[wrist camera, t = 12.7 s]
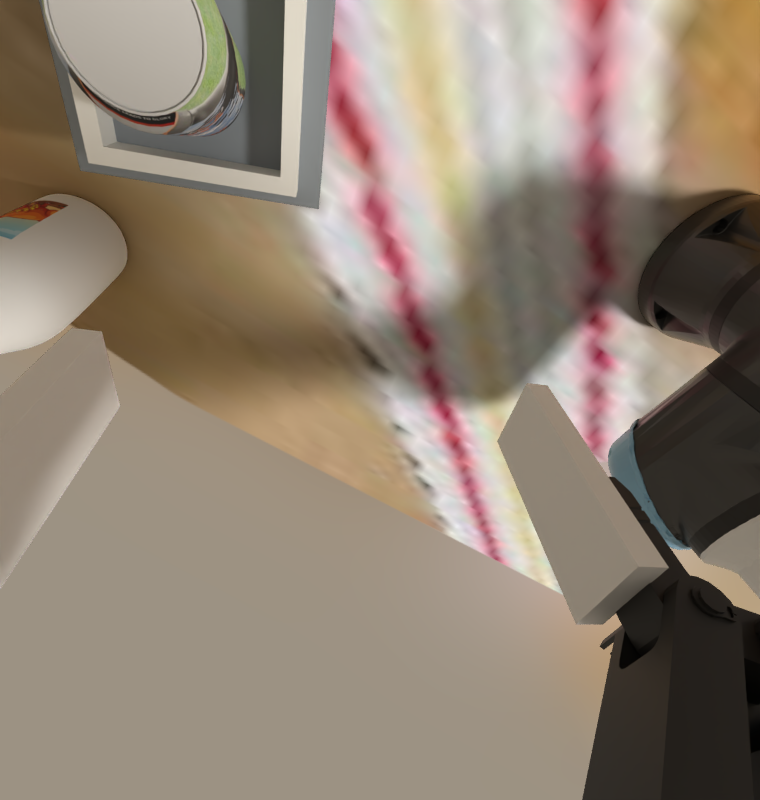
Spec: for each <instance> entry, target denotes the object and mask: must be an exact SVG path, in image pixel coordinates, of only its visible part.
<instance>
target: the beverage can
mask: <svg viewBox="0 0 760 800" xmlns="http://www.w3.org/2000/svg"><path fill="white" fill-rule="evenodd" d="M42 5H43V12H44V18H45V22H46V25H47V28H48V32H49V35H50V38H51V41H52V43H53V45H54V47H55V50H56V52H57V54H58V56H59V58H60V60H61V62H62V63H63V65H64V67H65V68H66V70H67V72H68V73H69V75H70V76H71V78H72V79H73V80H74V81H75V83H76V84H77V85H78V87H79V88H80V89H81V90H82V92H83V93H84V94H85V95H86V96H87V97H88V98H89V99H90V100H91V101H92V102H93V103H94V104H95V105H97V106H98V107H99V108H100V109H102V110H103V111H104V112H105V113H107V114H108V115H109V116H111V117H112V118H114V119H116V120H118V121H119V122H121V123H123V124H124V125H127V126H129V127H132V128H134V129H136V130H139V131H142V132H147V133H151V134H159V135H178V136H198V137H205V136H212V135H215V134H217V133H220V132H222V131H223V130H225V129H226V128H228V127H229V126H230V125H231V124H232V123H233V122H234V121H235V119H236V118H237V116H238V114H239V113H240V110H241V108H242V105H243V102H244V97H245V85H246V81H245V72H244V67H243V63H242V59H241V56H240V53H239V51H238V48H237V46H236V44H235V42H234V40H233V38H232V36H231V33H230V31H229V29H228V27H227V25H226V23H225V21H224V19H223V17H222V15H221V13H220V11H219V9H218V7H217V4H216V2H215V0H42Z"/></svg>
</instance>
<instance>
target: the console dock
mask: <svg viewBox="0 0 760 800" xmlns="http://www.w3.org/2000/svg"><path fill="white" fill-rule="evenodd" d="M215 2H216V4H217V7H218V9H219V11H220V13H221V15H222V17H223V19H224V21H225V23H226V25H227V27H228V29H229V31H230V33H231V36H232V38H233V40H234V42H235V44H236V46H237V48H238V51H239V53H240V56H241V59H242V63H243V67H244V72H245V81H246V85H245V97H244V102H243V105H242V108H241V110H240V113H239V114H238V116H237V118H236V119H235V121H234V122H233V123H232V124H231V125H230V126H229V127H228V128H226V129H225V130H223V131H222V132H220V133H217V134H215V135H212V136H205V137H198V136H178V135H159V134H151V133H147V132H142V131H139V130H136V129H134V128H132V127H129V126H127V125H124V124H123V123H121V122H119V121H118V120H116V119H114V118H112V117H111V116H109V115H108V114H107V113H105V112H104V111H103V110H102V109H100V108H99V107H98V106H97V105H95V104H94V103H93V102H92V101H91V100H90V99H89V98H88V97H87V96H86V95H85V94H84V93H83V92H82V90H81V89H80V88H79V87H78V85H77V84H76V83H75V81H74V80H73V79H72V78H71V76H70V75H69V73H68V72H67V70H66V68H65V67H64V65H63V63H62V62H61V60H60V58H59V56H58V54H57V52H56V50H55V47H54V45H53V43H52V41H51V38H50V35H49V32H48V28H47V25H46V22H45V18H44V12H43V5H42V0H39V3H40V7H41V11H42V15H43V19H44V23H45V27H46V31H47V36H48V40H49V44H50V48H51V52H52V56H53V60H54V64H55V68H56V73H57V77H58V81H59V85H60V89H61V93H62V97H63V101H64V105H65V110H66V114H67V118H68V122H69V126H70V130H71V134H72V138H73V143H74V147H75V151H76V155H77V159H78V163H79V167H80V171H86V172H92V173H99V174H105V175H111V176H117V177H123V178H129V179H136V180H142V181H148V182H154V183H160V184H167V185H173V186H179V187H185V188H191V189H197V190H204V191H210V192H216V193H222V194H228V195H235V196H241V197H247V198H253V199H259V200H265V201H272V202H278V203H284V204H290V205H296V206H303V207H309V208H315V209H319V198H320V186H321V173H322V161H323V148H324V136H325V124H326V111H327V99H328V86H329V74H330V61H331V49H332V37H333V24H334V12H335V0H215Z"/></svg>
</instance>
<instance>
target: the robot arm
mask: <svg viewBox="0 0 760 800" xmlns="http://www.w3.org/2000/svg"><path fill="white" fill-rule="evenodd" d="M638 302H639V308H640V311H641V313H642V315H643V317H644V318H645V319H646V320H647V321H648V322H649V323H650V324H651V325H652V326H654V327H655V328H656V329H658V330H659V331H660V332H662V333H663V334H665V335H667V336H670V337H672V338H676V339H680V340H683V341H687V342H690V343H694V344H697V345H701V346H705V347H708V348H712V349H714V350H716V351H717V352H718V353H720V354H721V355H720V356H719V357H718V358H717V359H716V360H714V361H713V362H712V363H711V364H709V365H708V366H707V367H705V368H704V369H703V370H702V371H700V372H699V373H698V374H697V375H695V376H694V377H693V378H692V379H691V380H689V381H688V382H687V383H686V384H684V385H683V386H682V387H680V388H679V389H678V390H677V391H675V392H674V393H673V394H671V395H670V396H669V397H668V398H666V399H665V400H664V401H663V402H661V403H660V404H659V405H657V406H656V407H655V408H654V409H652V410H651V411H650V412H649V413H647V414H646V415H645V416H643V417H642V418H640V419H637V420H636V421H635V422H634V423H633V424H632V425H631V427H630V429H629V430H628V431H626V432H625V433H624V434H623V435H622V436H621V437H620V438H618V439H617V440H616V441H615V442H614V443H613V444H612V446H611V448H610V450H609V455H608V466H609V470H610V473H611V476H612V477H608V476H607V474H606V473H605V471H604V470H603V468H602V467H601V465H600V464H599V462H598V461H597V459H596V458H595V456H594V455H593V453H592V452H591V450H590V449H589V447H588V446H587V444H586V443H585V441H584V440H583V438H582V437H581V435H580V434H579V432H578V431H577V429H576V428H575V426H574V425H573V423H572V422H571V420H570V419H569V417H568V416H567V414H566V413H565V411H564V410H563V408H562V407H561V405H560V404H559V402H558V401H557V399H556V398H555V396H554V395H553V393H552V392H551V390H550V389H549V387H548V386H546V385H538V384H530V383H527V384H526V386H525V388H524V390H523V392H522V394H521V396H520V398H519V400H518V402H517V404H516V406H515V408H514V410H513V411H512V413H511V415H510V417H509V419H508V421H507V423H506V425H505V427H504V429H503V431H502V433H501V435H500V437H499V439H498V441H497V442H498V444H499V446H500V449H501V451H502V453H503V455H504V458H505V460H506V462H507V465H508V467H509V469H510V472H511V474H512V476H513V479H514V481H515V483H516V486H517V488H518V490H519V493H520V495H521V497H522V500H523V502H524V504H525V507H526V509H527V511H528V514H529V516H530V518H531V521H532V523H533V525H534V527H535V530H536V532H537V534H538V537H539V539H540V541H541V544H542V546H543V548H544V551H545V553H546V555H547V558H548V560H549V562H550V565H551V567H552V569H553V572H554V574H555V576H556V579H557V581H558V583H559V586H560V588H561V590H562V592H563V595H564V597H565V599H566V601H567V604H568V606H569V609H570V611H571V613H572V616H573V618H574V620H575V623H576V624H604V623H605V622H606V621H607V620H608V619H610V618H611V617H612V616H613V615H614V614H615V613H616V614H617V616H618V618H619V620H620V622H621V624H622V625H621V626H620V627H619V628H618V629H617V630H615V631H614V632H613V633H612V634H610V635H609V636H608V637H607V638H605V639H604V640H603V642H602V643H601V645H600V647H601V648H602V649H605V648H607V647H608V646H609V645H610V644H612V643H613V642H614V644H613V649H612V652H611V653H610V654H611V659H610V664H609V669H608V674H607V679H606V684H605V689H604V694H603V699H602V704H601V709H600V714H599V719H598V724H597V729H596V734H595V739H594V744H593V749H592V754H591V759H590V764H589V769H588V774H587V779H586V784H585V789H584V794H583V799H582V800H760V615H759V614H756V613H753V612H750V611H747V610H744V609H742V608H739V607H736V606H733V604H732V602H731V601H730V600H729V599H728V598H727V597H726V596H725V595H724V594H723V593H722V592H721V591H720V590H719V589H717V588H716V587H715V586H713V585H712V584H711V583H709V582H707V581H705V580H703V579H701V578H699V577H695V576H690V575H689V574H688V573H687V572H686V570H685V569H684V567H683V566H682V564H681V563H680V562H679V560H678V559H677V557H676V556H675V554H674V553H673V551H672V550H671V549H670V547H671V548H673V549H677V550H683V549H686V550H689V549H692V550H693V551H694V552H695V553H696V554H697V555H698V557H699V558H700V559H701V560H702V561H703V562H704V563H706V564H710V565H714V566H717V567H721V568H725V569H728V570H731V571H733V572H735V573H737V574H738V575H739V576H740V577H741V578H742V579H743V580H744V581H745V583H746V584H747V585H748V586H749V587H750V588H751V589H752V590H753V592H754V593H755V594H756V595H757V596H758V597H759V599H760V195H751V194H749V195H739V196H734V197H730V198H726V199H723V200H721V201H718V202H716V203H714V204H711V205H709V206H707V207H706V208H704V209H702V210H700V211H699V212H697V213H696V214H694V215H693V216H691V217H690V218H688V219H687V220H686V221H685V222H683V223H682V224H681V225H680V226H679V227H677V228H676V229H675V230H674V231H673V232H672V233H671V234H670V235H669V236H668V237H667V238H666V239H665V241H664V242H663V243H662V244H661V245H660V247H659V248H658V249H657V251H656V252H655V253H654V255H653V256H652V258H651V260H650V261H649V263H648V265H647V267H646V269H645V271H644V274H643V276H642V279H641V282H640V286H639V293H638ZM119 408H120V404H119V399H118V395H117V392H116V387H115V383H114V379H113V375H112V371H111V367H110V363H109V359H108V354H107V350H106V346H105V342H104V338H103V334H102V331H94V330H86V329H77V328H71V329H70V330H69V331H68V332H67V333H66V334H65V335H64V336H63V337H61V339H59V340H58V341H57V342H56V343H55V344H54V345H53V346H52V347H51V348H50V349H49V350H48V351H47V352H46V353H45V354H44V355H42V356H41V357H40V358H39V359H38V360H37V361H36V362H35V363H34V364H33V365H32V366H31V367H30V368H29V369H28V370H27V371H26V372H25V373H24V374H22V375H21V376H20V377H19V378H18V379H17V380H16V381H15V382H14V383H13V384H12V385H11V386H10V387H9V388H8V389H7V390H6V391H5V392H4V393H3V394H2V395H0V589H1V587H2V586H3V584H4V583H5V581H6V580H7V578H8V576H9V575H10V574H11V572H12V571H13V569H14V568H15V566H16V564H17V563H18V561H19V560H20V558H21V557H22V555H23V554H24V552H25V550H26V549H27V548H28V546H29V545H30V543H31V541H32V540H33V538H34V537H35V536H36V534H37V532H38V531H39V529H40V528H41V526H42V525H43V523H44V522H45V520H46V519H47V517H48V516H49V514H50V513H51V511H52V509H53V508H54V507H55V505H56V504H57V502H58V501H59V499H60V497H61V496H62V494H63V493H64V491H65V490H66V488H67V487H68V485H69V483H70V482H71V481H72V479H73V478H74V476H75V475H76V473H77V472H78V470H79V469H80V467H81V466H82V464H83V462H84V461H85V459H86V458H87V456H88V455H89V453H90V452H91V450H92V449H93V447H94V446H95V444H96V443H97V441H98V440H99V438H100V436H101V435H102V433H103V432H104V431H105V429H106V427H107V426H108V424H109V423H110V421H111V420H112V418H113V417H114V415H115V414H116V412H117V411H118V409H119Z"/></svg>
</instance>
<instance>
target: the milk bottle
mask: <svg viewBox="0 0 760 800" xmlns="http://www.w3.org/2000/svg"><path fill="white" fill-rule="evenodd" d="M126 262H127V246H126V242H125V239H124V237H123V235H122V232H121V230H120V229H119V228H118V226H117V224H116V223H115V222H114V221H113V220H112V219H111V217H110V216H109V215H108V214H106V213H105V212H104V211H103V210H102V209H101V208H99V207H97V206H96V205H94V204H93V203H91V202H88V201H86V200H84V199H82V198H79V197H76V196H72V195H67V194H51V195H47V196H44V197H42V198H39V199H37V200H34V201H32V202H30V203H28V204H26V205H24V206H21V207H19V208H17V209H15V210H13V211H11V212H9V213H6V214H4V215H2V216H0V354H4V353H10V352H15V351H20V350H24V349H28V348H31V347H34V346H37V345H40V344H42V343H44V342H46V341H48V340H50V339H51V338H53V337H54V336H56V335H57V334H59V333H60V332H61V331H62V330H64V329H65V328H66V327H67V326H68V325H69V324H70V323H72V322H73V321H74V320H75V319H76V318H77V317H78V316H79V315H80V314H81V313H82V312H83V311H84V310H85V309H86V308H87V307H88V306H89V305H90V304H91V303H92V302H93V301H94V300H95V299H96V298H97V297H98V296H99V295H100V294H101V293H102V292H103V291H104V290H105V289H106V288H107V287H108V286H109V285H110V284H111V283H112V282H113V281H114V280H115V279H116V278H117V277H118V276H119V274H120V273H121V272H122V271H123V269H124V268H125V265H126Z"/></svg>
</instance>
